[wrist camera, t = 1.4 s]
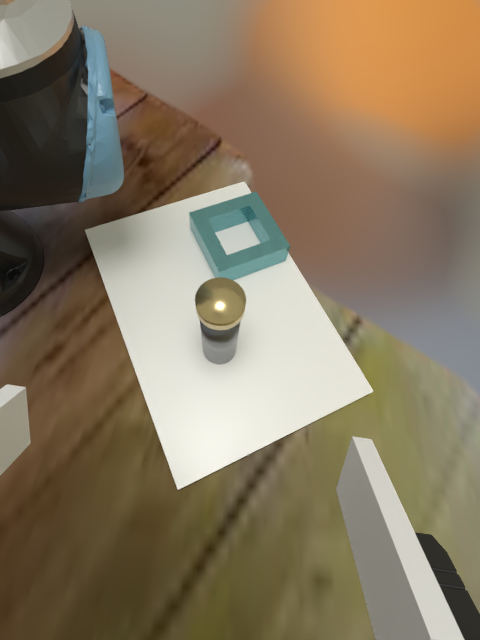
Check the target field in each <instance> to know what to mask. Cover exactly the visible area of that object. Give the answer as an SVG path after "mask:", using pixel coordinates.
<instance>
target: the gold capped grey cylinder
mask: <svg viewBox="0 0 480 640" xmlns="http://www.w3.org/2000/svg"><path fill="white" fill-rule="evenodd" d="M195 306H196V313H197V316H198V318H199V320H200V328H201V337H202V346H203V353H204V356H205V357H206V359H207V360H208V361H210V362H211V363H214V364H219V365H220V364H225V363H228V362H229V361H231V360H232V359H233V357H234V355H235V353H236V347H237V341H238V334H239V328H240V322H241V319H242V318H243V316H244V312H245V306H246V295H245V292H244V290H243V289H242V287H241V286H240V285H239V284H238V283H236V282H235V281H233V280H231V279H228V278H222V277H218V278H213V279H210V280H207V281H206V282H204V283H203V284H202V285H201V286H200V287H199V288H198V290H197V292H196V295H195Z"/></svg>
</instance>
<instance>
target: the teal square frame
mask: <svg viewBox="0 0 480 640" xmlns="http://www.w3.org/2000/svg"><path fill="white" fill-rule="evenodd" d="M189 219H190V229H191V231H192V233H193V235H194V237H195V239H196V241H197V243H198V245H199V247H200V249H201V251H202V253H203V255H204V257H205V259H206V261H207V263H208V265H209V267H210V269H211V271H212V273H213V275H214V277H215V278H218V277H222V278H228V279H231V280H236V279H238V278H241V277H244V276H246V275H249V274H252V273H255V272H257V271H260V270H263V269H265V268H268V267H271V266H273V265H276V264H279V263H281V262H284V261H286V258H287V255H288V252H289V249H290V245H289V243H288V242H287V240H286V238H285V237H284V235H283V234H282V232H281V231H280V229H279V227H278V226H277V224H276V222H275V221H274V219H273V218H272V216H271V214H270V213H269V211H268V210H267V208H266V206H265V205H264V203H263V202H262V200H261V198H260V197H259V195H258V194H257V192H253V193H250V194H247V195H243V196H240V197H237V198H234V199H231V200H227V201H224V202H221V203H218V204H215V205H211V206H208V207H205V208H202V209H199V210H196V211H192V212H189ZM245 222H248V223H249V224H250V226H251V228H252V230H253V231H254V233H255V235H256V236H257V238H258V240H259V241H260V244H257V245H255V246H252V247H249V248H246V249H243V250H240V251H237V252H235V253H232V254H229V255H227V254H226V252H225V251H224V249H223V247H222V245H221V243H220V241H219V239H218V237H217V236H216V234H215V232H218V231H221V230H224V229H227V228H230V227H233V226H236V225H239V224H242V223H245Z"/></svg>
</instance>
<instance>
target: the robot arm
mask: <svg viewBox="0 0 480 640" xmlns="http://www.w3.org/2000/svg"><path fill="white" fill-rule="evenodd" d="M114 105H115V104H114V98H113V92H112V83H111V76H110V70H109V64H108V57H107V52H106V46H105V40H104V38H103V35H102V34H101V33H100V32H99V31H97V30H95V29H90V28H89V27H86V26H82V27H81V28H78V25H77V22H76V18H75V15H74V12H73V9H72V6H71V3H70V1H69V0H0V316H1V315H3V314H5V313H7V312H8V311H10V310H11V309H13V308H14V307H15V306H17V305H18V304H19V303H20V302H21V301H23V300H24V299H25V298H26V297H27V296H28V294H29V293H30V292H31V291H32V289H33V288H34V287H35V285H36V283H37V281H38V280H39V277H40V275H41V272H42V269H43V263H44V254H43V248H42V245H41V243H40V241H39V239H38V237H37V236H36V235H35V233H34V232H33V231H32V230H31V228H30V227H29V226H28V224H27V223H26V222H25V221H24V220H22V219H21V218H20V217H19V216H17V215H16V214H14V213H13V212H11V211H9V210H15V209H23V208H31V207H39V206H47V205H55V204H63V203H71V202H84V201H85V200H86V199H90V198H95V197H99V196H104V195H109V194H112V193H114V192H116V191H117V190H118V189H119V188H120V187H121V185H122V183H123V181H124V168H123V160H122V152H121V145H120V138H119V131H118V124H117V118H116V112H115V106H114ZM29 444H30V431H29V419H28V407H27V396H26V387H21V386H14V385H8V384H7V385H5V386H4V387H3V388H1V389H0V475H1V474H2V473H3V472H4V471H5V470H6V469H7V468H8V467H9V466H10V465H11V464H12V463H13V462H14V460H15V459H16V458H17V457H18V456H19V455H20V454H21V453H22V452H23V451H24V450H25V449H26V448H27V447H28V446H29ZM336 491H337V495H338V498H339V502H340V506H341V510H342V514H343V518H344V521H345V525H346V529H347V533H348V537H349V540H350V544H351V548H352V552H353V556H354V559H355V563H356V567H357V571H358V575H359V578H360V582H361V586H362V590H363V594H364V598H365V601H366V605H367V609H368V613H369V617H370V620H371V624H372V628H373V632H374V636H375V639H376V640H480V614H479V612H478V610H477V608H476V607H475V605H474V603H473V601H472V599H471V597H470V595H469V593H468V591H466V590H465V586H464V584H463V582H462V580H461V578H460V576H459V575H458V574H457V572H456V569H455V567H454V565H453V563H452V561H451V559H450V557H449V556H448V554H447V552H446V551H445V550H444V548H443V547H442V546H441V545H440V544H439V543H438V542H437V541H436V539H435V538H434V537H433V536H432V535H429V534H422V533H416V532H414V530H413V528H412V526H411V524H410V521H409V519H408V517H407V515H406V513H405V511H404V508H403V506H402V504H401V502H400V500H399V498H398V495H397V493H396V491H395V489H394V487H393V485H392V483H391V480H390V478H389V476H388V474H387V472H386V470H385V467H384V465H383V463H382V461H381V459H380V457H379V455H378V452H377V450H376V448H375V446H374V444H373V442H372V439H366V438H360V437H353V436H352V439H351V442H350V446H349V449H348V452H347V456H346V459H345V462H344V465H343V469H342V472H341V475H340V479H339V482H338V485H337V488H336Z"/></svg>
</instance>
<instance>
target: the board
mask: <svg viewBox="0 0 480 640" xmlns="http://www.w3.org/2000/svg"><path fill="white" fill-rule="evenodd" d="M250 193H251V191H250V190H249V188H248V186H247V185H246V183H245V182H241V183H238V184H235V185H231V186H228V187H225V188H221V189H218V190H215V191H211V192H208V193H205V194H201V195H198V196H195V197H192V198H188V199H185V200H182V201H178V202H175V203H172V204H168V205H165V206H162V207H159V208H155V209H152V210H149V211H145V212H142V213H139V214H135V215H132V216H129V217H126V218H122V219H119V220H116V221H112V222H109V223H106V224H102V225H99V226H96V227H93V228H89V229H86V230H85V232H86V235H87V238H88V240H89V243H90V246H91V249H92V251H93V254H94V257H95V260H96V263H97V265H98V268H99V271H100V274H101V277H102V279H103V282H104V285H105V288H106V291H107V293H108V296H109V299H110V302H111V305H112V307H113V310H114V313H115V316H116V319H117V321H118V324H119V327H120V330H121V333H122V335H123V338H124V341H125V344H126V347H127V349H128V352H129V355H130V358H131V360H132V363H133V366H134V369H135V372H136V374H137V377H138V380H139V383H140V386H141V388H142V391H143V394H144V397H145V400H146V402H147V405H148V408H149V411H150V414H151V416H152V419H153V422H154V425H155V428H156V430H157V433H158V436H159V439H160V442H161V444H162V447H163V450H164V453H165V456H166V458H167V461H168V464H169V467H170V469H171V472H172V475H173V478H174V481H175V483H176V486H177V489H178V490H179V489H181V488H183V487H185V486H187V485H189V484H191V483H193V482H195V481H197V480H199V479H201V478H203V477H205V476H207V475H209V474H211V473H213V472H215V471H217V470H219V469H221V468H223V467H225V466H227V465H229V464H231V463H233V462H235V461H237V460H239V459H241V458H243V457H245V456H247V455H249V454H251V453H253V452H255V451H257V450H258V449H260V448H262V447H264V446H266V445H268V444H270V443H272V442H274V441H276V440H278V439H280V438H282V437H284V436H286V435H288V434H290V433H292V432H294V431H296V430H298V429H300V428H302V427H304V426H306V425H308V424H310V423H312V422H314V421H316V420H318V419H320V418H322V417H324V416H326V415H328V414H330V413H332V412H334V411H336V410H338V409H340V408H342V407H344V406H346V405H348V404H350V403H352V402H354V401H356V400H358V399H360V398H362V397H364V396H366V395H368V394H370V393H371V392H373V389H372V388H371V386H370V385H369V383H368V381H367V380H366V378H365V376H364V375H363V373H362V372H361V370H360V368H359V367H358V365H357V363H356V362H355V360H354V359H353V357H352V355H351V354H350V352H349V350H348V349H347V347H346V346H345V344H344V342H343V341H342V339H341V337H340V336H339V334H338V333H337V331H336V329H335V328H334V326H333V324H332V323H331V321H330V320H329V318H328V316H327V315H326V313H325V311H324V310H323V308H322V307H321V305H320V303H319V302H318V300H317V298H316V297H315V295H314V294H313V292H312V290H311V289H310V287H309V285H308V284H307V282H306V281H305V279H304V277H303V276H302V274H301V272H300V271H299V269H298V268H297V266H296V264H295V263H294V261H293V259H292V258H291V256H290V255H289V253H288V255H287V258H286V261H284V262H281V263H279V264H276V265H273V266H271V267H268V268H265V269H263V270H260V271H257V272H255V273H252V274H249V275H246V276H244V277H241V278H238V279H236V280H233V281H235V282H236V283H238V284H239V285H240V286H241V287H242V289H243V290H244V292H245V295H246V306H245V312H244V316H243V318H242V319H241V322H240V328H239V334H238V341H237V347H236V353H235V355H234V357H233V359H232V360H231V361H229V362H228V363H225V364H220V365H219V364H214V363H211V362H210V361H208V360H207V359H206V357H205V356H204V353H203V346H202V337H201V328H200V320H199V318H198V316H197V313H196V306H195V295H196V292H197V290H198V288H199V287H200V286H201V285H202V284H203V283H204V282H206V281H207V280H210V279H213V278H215V277H214V275H213V273H212V271H211V269H210V267H209V265H208V263H207V261H206V259H205V257H204V255H203V253H202V251H201V249H200V247H199V245H198V243H197V241H196V239H195V237H194V235H193V233H192V231H191V229H190V219H189V212H192V211H196V210H199V209H202V208H205V207H208V206H211V205H215V204H218V203H221V202H224V201H227V200H231V199H234V198H237V197H240V196H243V195H247V194H250ZM215 234H216V236H217V237H218V239H219V241H220V243H221V245H222V247H223V249H224V251H225V252H226V254H227V255H229V254H232V253H235V252H237V251H240V250H243V249H246V248H249V247H252V246H255V245H257V244H260V241H259V240H258V238H257V236H256V235H255V233H254V231H253V230H252V228H251V226H250V224H249V223H248V222H245V223H242V224H239V225H236V226H233V227H230V228H227V229H224V230H221V231H218V232H215Z"/></svg>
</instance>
